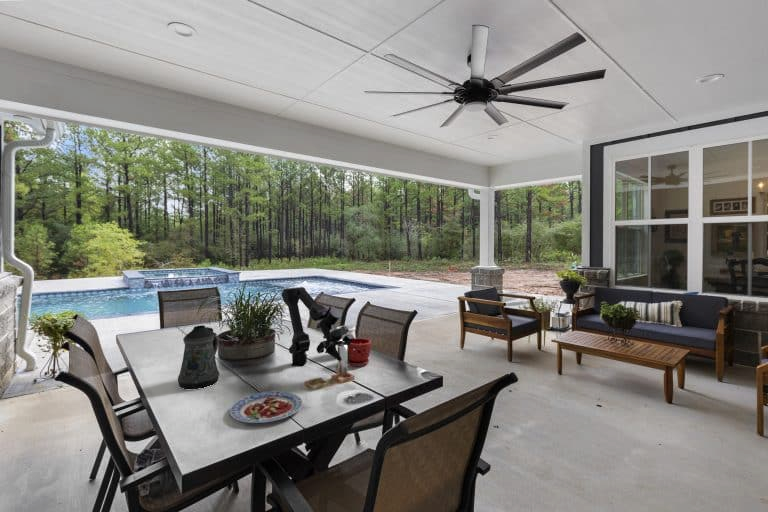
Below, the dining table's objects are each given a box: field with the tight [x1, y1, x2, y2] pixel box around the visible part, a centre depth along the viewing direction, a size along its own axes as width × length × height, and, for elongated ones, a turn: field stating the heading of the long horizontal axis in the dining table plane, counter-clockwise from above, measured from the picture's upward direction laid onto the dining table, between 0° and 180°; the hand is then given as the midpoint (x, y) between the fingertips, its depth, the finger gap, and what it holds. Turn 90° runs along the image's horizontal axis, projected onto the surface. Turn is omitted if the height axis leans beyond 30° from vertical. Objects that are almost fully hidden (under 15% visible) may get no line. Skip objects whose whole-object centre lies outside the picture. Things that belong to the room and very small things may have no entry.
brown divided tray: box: [302, 372, 357, 392], centre depth 166 cm, size 22×8×2 cm, turn 126°
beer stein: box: [177, 324, 220, 390], centre depth 168 cm, size 16×19×25 cm
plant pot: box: [348, 337, 372, 367], centre depth 193 cm, size 13×13×12 cm
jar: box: [336, 325, 356, 339], centre depth 208 cm, size 11×10×15 cm
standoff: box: [337, 344, 349, 373], centre depth 170 cm, size 4×4×12 cm
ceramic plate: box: [229, 390, 304, 424], centre depth 140 cm, size 26×26×3 cm
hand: (344, 359), depth 169 cm, fingers closed on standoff, 4 cm apart
